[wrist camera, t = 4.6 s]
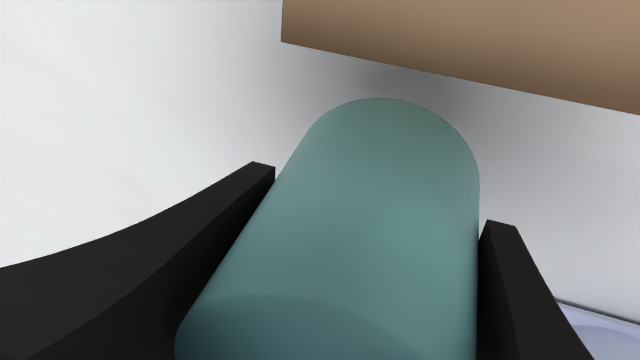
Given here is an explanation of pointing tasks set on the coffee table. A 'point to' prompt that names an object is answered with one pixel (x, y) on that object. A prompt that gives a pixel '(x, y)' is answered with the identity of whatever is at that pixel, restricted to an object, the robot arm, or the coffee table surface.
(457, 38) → the walnut block
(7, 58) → the coffee table surface
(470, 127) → the coffee table surface
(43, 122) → the coffee table surface
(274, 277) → the teal tin
